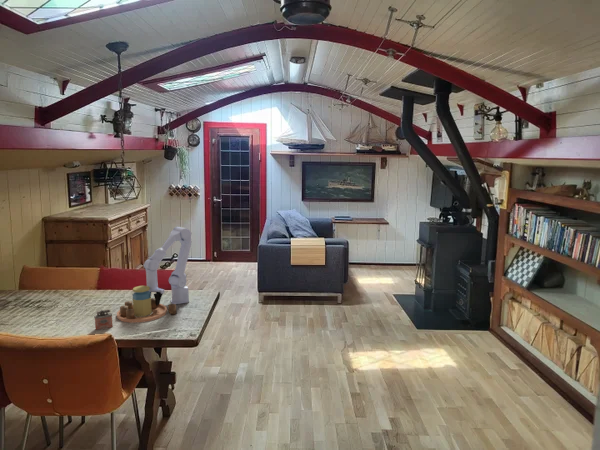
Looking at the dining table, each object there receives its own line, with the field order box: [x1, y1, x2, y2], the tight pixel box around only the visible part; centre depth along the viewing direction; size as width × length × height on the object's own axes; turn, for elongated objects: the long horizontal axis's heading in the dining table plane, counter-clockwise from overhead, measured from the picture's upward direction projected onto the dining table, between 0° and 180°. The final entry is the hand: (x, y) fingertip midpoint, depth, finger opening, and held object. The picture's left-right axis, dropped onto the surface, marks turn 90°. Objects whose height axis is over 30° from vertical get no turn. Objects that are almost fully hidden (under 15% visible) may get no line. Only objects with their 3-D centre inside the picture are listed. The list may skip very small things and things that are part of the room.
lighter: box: [94, 308, 114, 331], centre depth 214 cm, size 8×3×10 cm, turn 118°
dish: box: [116, 303, 168, 324], centre depth 234 cm, size 25×25×2 cm
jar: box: [132, 285, 153, 317], centre depth 233 cm, size 9×9×15 cm
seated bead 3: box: [126, 309, 136, 319], centre depth 225 cm, size 4×4×5 cm
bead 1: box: [151, 297, 157, 309], centre depth 242 cm, size 4×4×5 cm
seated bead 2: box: [124, 300, 133, 309], centre depth 236 cm, size 4×4×5 cm
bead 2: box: [167, 303, 177, 316], centre depth 235 cm, size 4×4×5 cm
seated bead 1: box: [119, 305, 128, 317], centre depth 230 cm, size 4×4×5 cm
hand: (153, 304), depth 242 cm, fingers open, 5 cm apart
